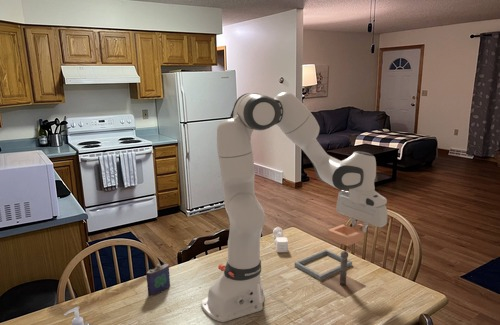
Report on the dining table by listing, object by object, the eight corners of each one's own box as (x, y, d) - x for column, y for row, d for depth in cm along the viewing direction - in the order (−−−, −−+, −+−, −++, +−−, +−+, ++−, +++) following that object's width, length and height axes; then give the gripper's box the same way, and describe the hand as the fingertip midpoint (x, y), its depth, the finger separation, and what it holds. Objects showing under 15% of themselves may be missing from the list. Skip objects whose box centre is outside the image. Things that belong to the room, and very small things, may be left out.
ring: (347, 246, 126) (347, 238, 125) (327, 237, 133) (327, 229, 132) (371, 235, 134) (372, 228, 133) (351, 228, 141) (352, 220, 140)
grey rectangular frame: (320, 283, 139) (320, 276, 138) (294, 268, 150) (294, 262, 149) (351, 267, 150) (352, 261, 149) (325, 255, 161) (325, 249, 160)
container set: (288, 253, 164) (288, 241, 163) (276, 253, 164) (276, 241, 162) (282, 234, 183) (282, 224, 182) (272, 234, 183) (272, 224, 182)
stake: (345, 300, 128) (347, 262, 125) (319, 285, 137) (320, 249, 134) (366, 288, 135) (368, 252, 132) (340, 275, 144) (342, 241, 141)
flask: (167, 284, 139) (166, 258, 137) (172, 287, 137) (170, 260, 135) (146, 294, 132) (144, 267, 130) (151, 297, 130) (149, 270, 128)
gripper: (333, 190, 139) (331, 224, 142) (380, 204, 124) (377, 242, 127) (344, 187, 143) (342, 220, 146) (391, 200, 127) (388, 237, 130)
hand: (359, 230), depth 136 cm, fingers closed on ring, 2 cm apart
